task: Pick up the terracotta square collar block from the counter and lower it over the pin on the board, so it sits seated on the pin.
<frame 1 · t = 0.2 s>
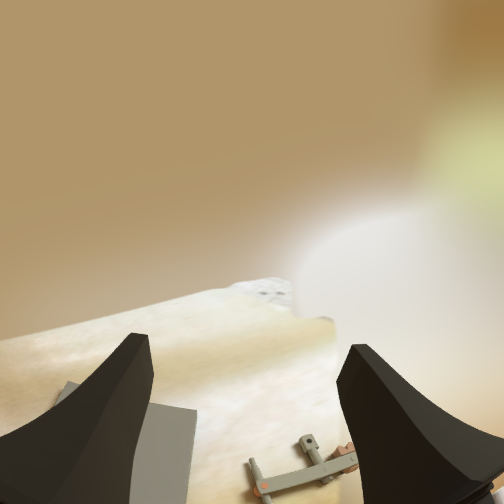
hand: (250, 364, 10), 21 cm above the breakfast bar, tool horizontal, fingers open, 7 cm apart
pin board: (108, 468, 19), on the breakfast bar
clamp: (290, 485, 22), on the breakfast bar
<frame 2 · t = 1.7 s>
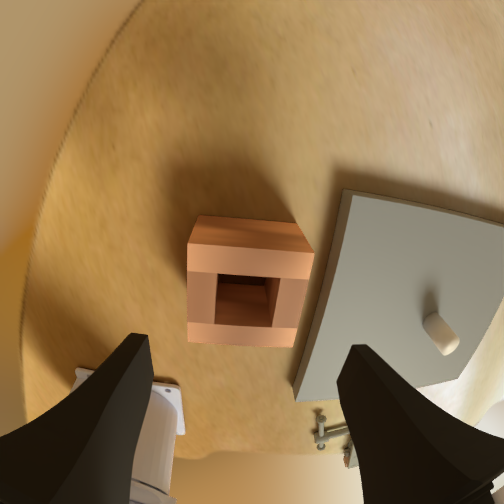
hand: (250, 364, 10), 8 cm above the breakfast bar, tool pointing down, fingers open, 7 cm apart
pin board: (421, 310, 19), on the breakfast bar
clamp: (355, 430, 27), on the breakfast bar
collar block: (243, 263, 17), on the breakfast bar
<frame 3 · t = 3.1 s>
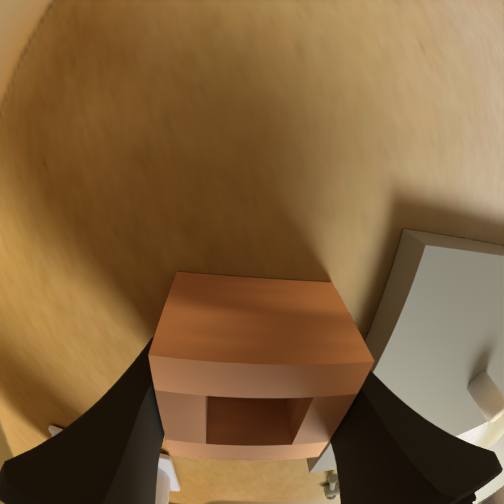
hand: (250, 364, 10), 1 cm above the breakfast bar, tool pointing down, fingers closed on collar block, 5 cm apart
pin board: (465, 365, 13), on the breakfast bar
clamp: (368, 476, 21), on the breakfast bar
collar block: (248, 338, 11), on the breakfast bar, touching gripper
when the fingers open (4 cm above the breakfast bar, at t = 7.5 s): collar block stays where it is, resting on pin board.
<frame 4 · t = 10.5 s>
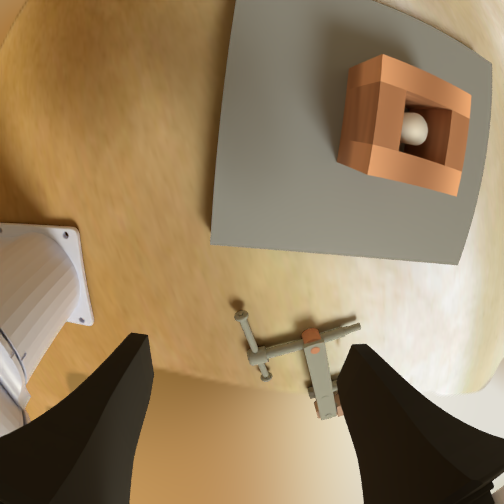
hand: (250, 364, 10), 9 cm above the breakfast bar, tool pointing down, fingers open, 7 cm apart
pin board: (374, 125, 15), on the breakfast bar
clamp: (315, 356, 23), on the breakfast bar
collar block: (386, 125, 14), point 1 cm above the breakfast bar, touching pin board
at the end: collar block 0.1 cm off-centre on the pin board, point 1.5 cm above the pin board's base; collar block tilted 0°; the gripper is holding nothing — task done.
